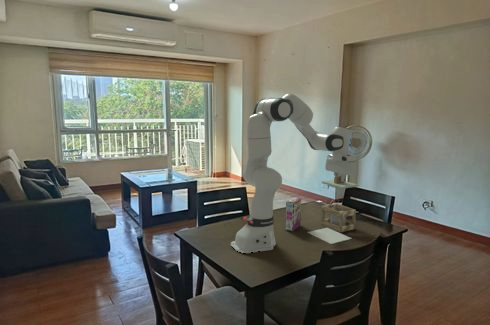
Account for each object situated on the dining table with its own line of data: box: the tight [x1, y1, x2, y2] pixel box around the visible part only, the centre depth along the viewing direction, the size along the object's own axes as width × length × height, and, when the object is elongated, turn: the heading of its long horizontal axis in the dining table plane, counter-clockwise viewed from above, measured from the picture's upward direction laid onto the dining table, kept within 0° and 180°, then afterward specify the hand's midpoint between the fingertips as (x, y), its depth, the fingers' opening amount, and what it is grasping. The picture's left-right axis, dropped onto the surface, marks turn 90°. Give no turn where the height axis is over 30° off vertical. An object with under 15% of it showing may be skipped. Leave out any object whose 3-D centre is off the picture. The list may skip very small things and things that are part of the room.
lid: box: [321, 175, 358, 190], centre depth 184 cm, size 12×16×6 cm
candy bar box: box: [284, 196, 302, 232], centre depth 186 cm, size 11×5×16 cm, turn 149°
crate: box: [320, 203, 357, 234], centre depth 188 cm, size 11×15×11 cm
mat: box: [307, 227, 352, 245], centre depth 175 cm, size 14×18×1 cm
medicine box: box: [330, 210, 347, 226], centre depth 188 cm, size 8×4×9 cm, turn 84°
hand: (339, 181), depth 184 cm, fingers closed on lid
